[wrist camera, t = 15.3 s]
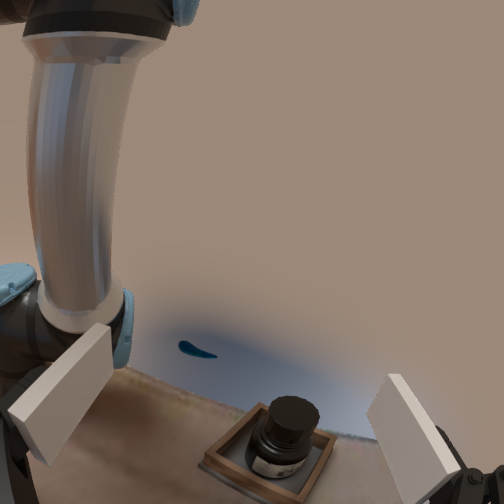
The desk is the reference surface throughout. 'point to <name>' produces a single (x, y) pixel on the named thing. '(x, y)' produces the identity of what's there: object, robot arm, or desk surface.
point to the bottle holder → (248, 483)
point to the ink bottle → (282, 438)
